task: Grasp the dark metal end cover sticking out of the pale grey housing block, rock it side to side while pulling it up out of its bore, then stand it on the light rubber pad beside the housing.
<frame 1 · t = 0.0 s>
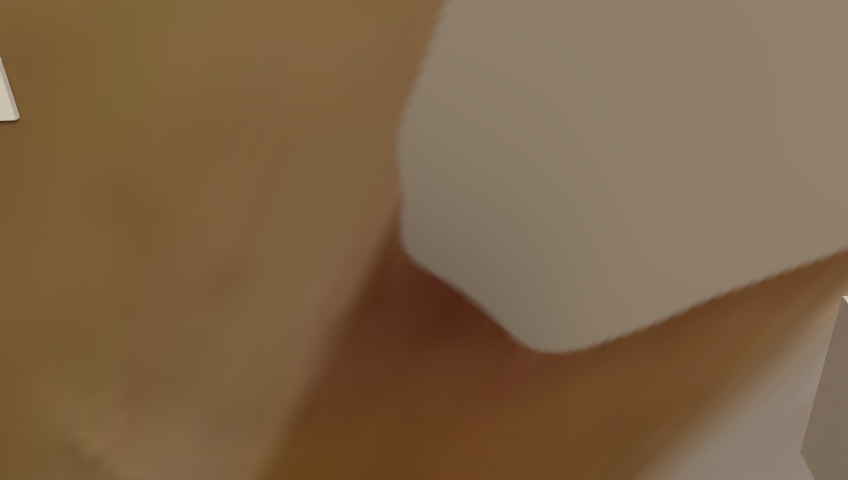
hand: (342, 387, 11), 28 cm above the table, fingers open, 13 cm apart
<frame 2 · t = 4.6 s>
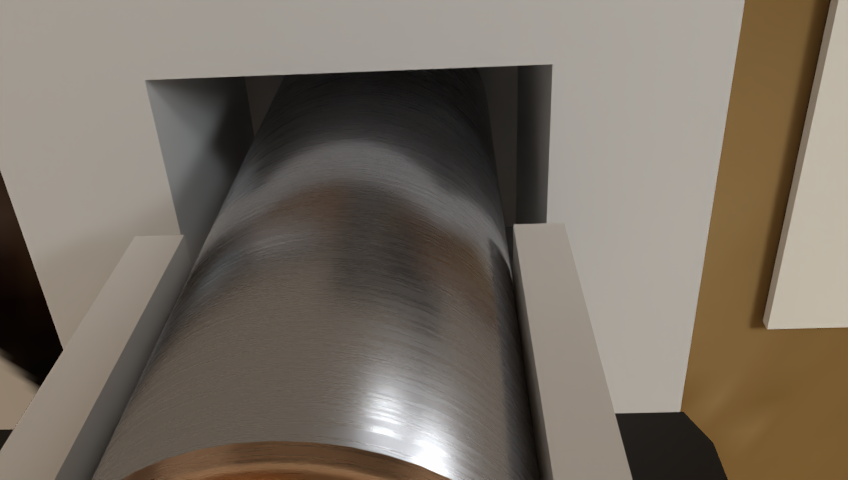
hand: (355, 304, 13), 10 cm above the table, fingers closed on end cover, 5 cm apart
housing: (388, 86, 21), on the table
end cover: (383, 116, 19), point 2 cm above the table, touching gripper, housing
when the fingers open (9 cm above the table, at t = 11.2 s): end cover drops 1 cm, resting on pad.
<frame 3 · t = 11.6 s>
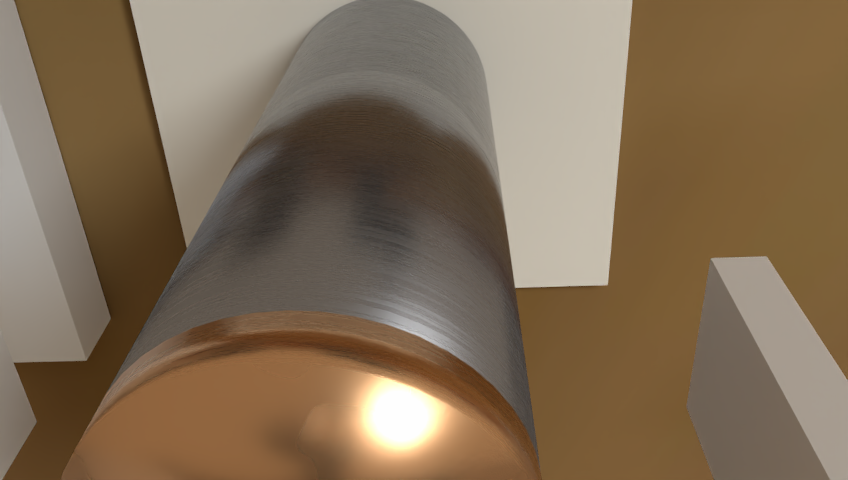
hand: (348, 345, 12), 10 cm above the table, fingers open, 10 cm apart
pad: (387, 90, 21), on the table
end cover: (388, 96, 20), resting on pad
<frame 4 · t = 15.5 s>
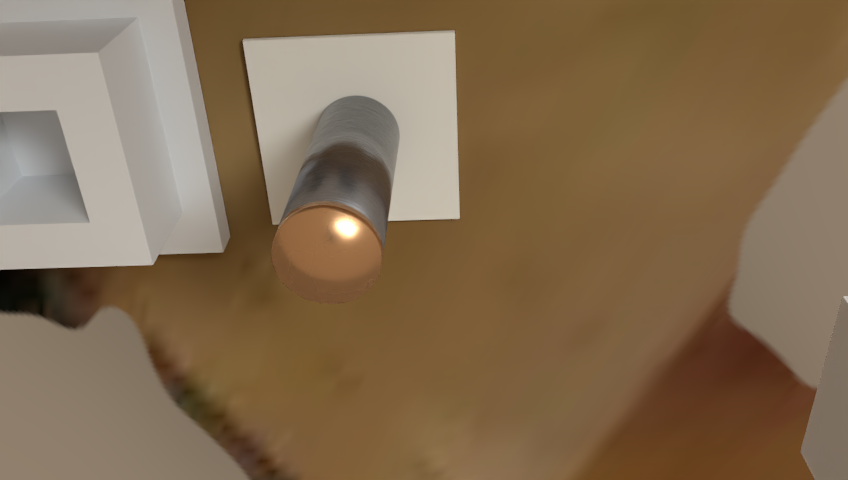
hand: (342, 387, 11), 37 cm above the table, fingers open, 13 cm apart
housing: (73, 111, 48), on the table
pad: (358, 132, 49), on the table
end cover: (358, 135, 48), resting on pad
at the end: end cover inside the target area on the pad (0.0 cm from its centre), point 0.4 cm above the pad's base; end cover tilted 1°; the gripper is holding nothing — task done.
